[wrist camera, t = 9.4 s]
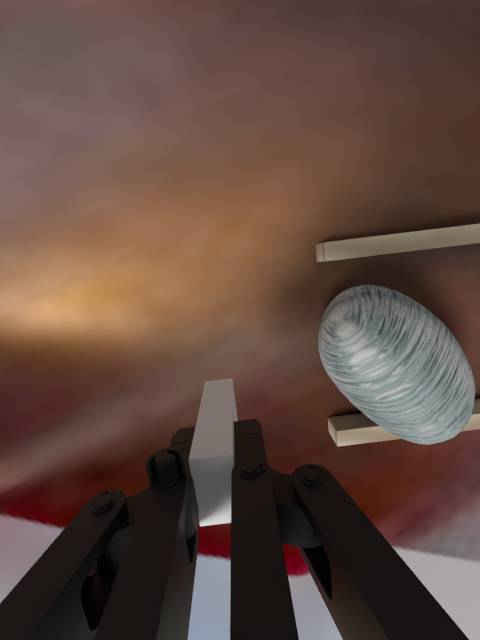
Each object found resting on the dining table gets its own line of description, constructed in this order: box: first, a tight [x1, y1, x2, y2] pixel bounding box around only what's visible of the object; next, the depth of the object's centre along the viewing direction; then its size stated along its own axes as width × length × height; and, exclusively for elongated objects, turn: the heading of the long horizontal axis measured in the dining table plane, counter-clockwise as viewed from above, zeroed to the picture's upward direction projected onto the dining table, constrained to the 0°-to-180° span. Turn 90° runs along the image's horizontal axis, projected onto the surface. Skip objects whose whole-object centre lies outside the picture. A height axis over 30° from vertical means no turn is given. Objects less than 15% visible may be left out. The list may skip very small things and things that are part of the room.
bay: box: [316, 224, 480, 446], centre depth 27 cm, size 18×20×2 cm
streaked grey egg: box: [318, 285, 475, 444], centre depth 24 cm, size 14×10×10 cm
